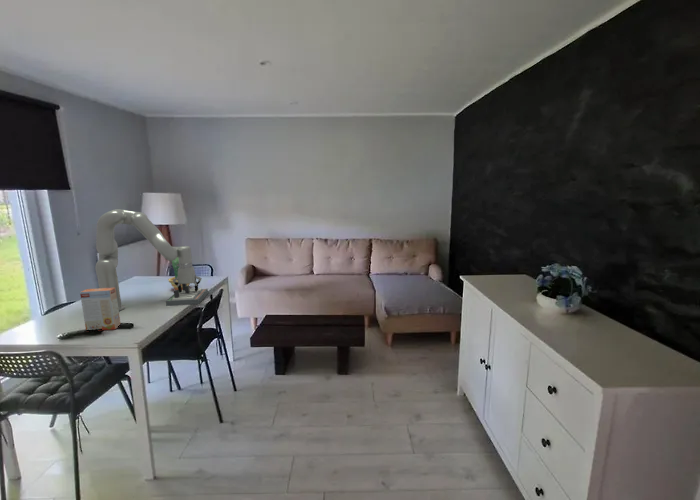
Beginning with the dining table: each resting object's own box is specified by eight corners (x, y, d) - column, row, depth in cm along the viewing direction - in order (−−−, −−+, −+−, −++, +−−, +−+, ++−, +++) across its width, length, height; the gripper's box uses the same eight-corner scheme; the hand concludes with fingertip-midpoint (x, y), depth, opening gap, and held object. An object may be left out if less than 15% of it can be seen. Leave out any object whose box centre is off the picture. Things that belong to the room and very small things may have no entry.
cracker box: (121, 325, 185) (116, 286, 181) (115, 330, 179) (109, 290, 175) (92, 327, 184) (86, 288, 180) (85, 331, 178) (79, 291, 174)
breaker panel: (198, 303, 217) (197, 290, 216) (166, 306, 215) (164, 292, 213) (208, 293, 240) (206, 281, 238) (178, 294, 237) (177, 282, 236)
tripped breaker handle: (188, 292, 226) (188, 286, 225) (185, 293, 225) (184, 287, 225) (189, 291, 228) (189, 285, 227) (186, 292, 228) (185, 286, 227)
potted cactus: (184, 292, 242) (181, 256, 238) (164, 291, 245) (160, 256, 240) (197, 286, 257) (194, 252, 253) (178, 285, 260) (174, 252, 255)
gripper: (169, 267, 219) (172, 294, 222) (198, 266, 221) (201, 292, 224) (173, 265, 226) (176, 290, 229) (201, 263, 228) (204, 289, 231)
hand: (188, 291), depth 227 cm, fingers open, 9 cm apart
